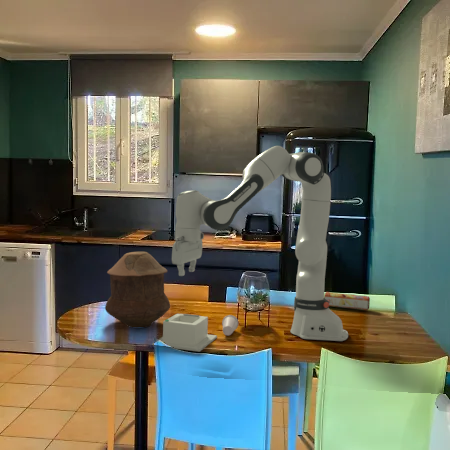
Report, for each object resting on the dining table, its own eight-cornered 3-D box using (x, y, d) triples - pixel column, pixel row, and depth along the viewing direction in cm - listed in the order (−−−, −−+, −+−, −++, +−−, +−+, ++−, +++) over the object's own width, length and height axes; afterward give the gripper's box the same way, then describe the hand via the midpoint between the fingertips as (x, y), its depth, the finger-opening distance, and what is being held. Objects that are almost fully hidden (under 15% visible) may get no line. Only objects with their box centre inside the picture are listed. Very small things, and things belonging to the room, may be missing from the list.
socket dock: (216, 337, 197) (217, 314, 196) (199, 351, 180) (200, 326, 179) (173, 332, 202) (173, 310, 202) (152, 345, 185) (152, 321, 185)
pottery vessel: (178, 332, 203) (180, 255, 201) (112, 338, 192) (113, 257, 190) (159, 316, 226) (160, 247, 224) (99, 321, 216) (100, 249, 214)
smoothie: (216, 325, 197) (221, 314, 211) (223, 341, 198) (227, 329, 211) (232, 320, 196) (236, 309, 210) (238, 335, 197) (241, 324, 210)
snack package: (368, 311, 245) (369, 307, 251) (369, 298, 243) (370, 294, 250) (323, 307, 251) (325, 303, 258) (323, 294, 250) (325, 290, 257)
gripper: (184, 238, 177) (183, 278, 178) (205, 233, 197) (204, 270, 198) (167, 237, 179) (166, 277, 180) (189, 232, 199) (189, 268, 200)
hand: (186, 273), depth 189 cm, fingers open, 8 cm apart
